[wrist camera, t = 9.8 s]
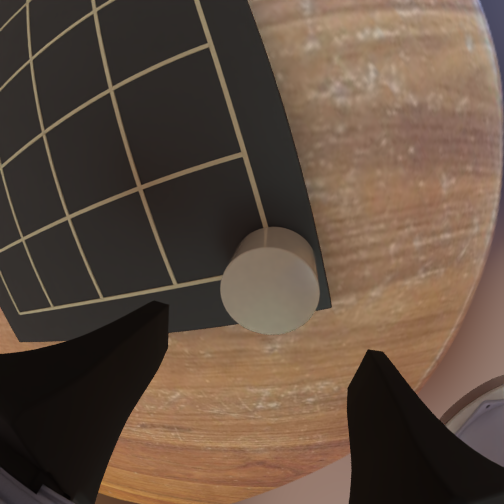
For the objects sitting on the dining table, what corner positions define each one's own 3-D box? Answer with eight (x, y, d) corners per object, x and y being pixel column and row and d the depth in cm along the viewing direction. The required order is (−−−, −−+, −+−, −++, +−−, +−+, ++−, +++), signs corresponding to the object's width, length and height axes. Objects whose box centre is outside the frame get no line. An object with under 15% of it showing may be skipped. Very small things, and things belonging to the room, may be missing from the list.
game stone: (326, 237, 15) (332, 260, 12) (304, 310, 17) (304, 343, 14) (240, 218, 15) (227, 237, 13) (227, 293, 17) (214, 323, 14)
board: (330, 299, 18) (332, 309, 17) (24, 337, 25) (18, 343, 24) (175, -147, 5) (171, -153, 4) (-45, 19, 12) (-52, 19, 11)
